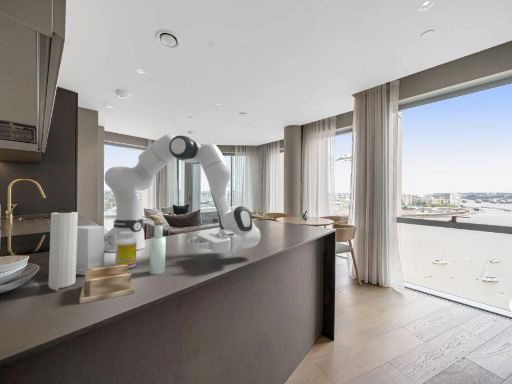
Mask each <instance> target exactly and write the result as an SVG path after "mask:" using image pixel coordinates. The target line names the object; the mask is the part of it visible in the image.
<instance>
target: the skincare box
mask: <svg viewBox="0 0 512 384" xmlns="http://www.w3.org/2000/svg"><path fill="white" fill-rule="evenodd" d="M104 235H105V225H91V224H90V225H89V224H85V225H77V254H76V275H80V276H86V270H87V269H95V268H103V267H105V250H104Z"/></svg>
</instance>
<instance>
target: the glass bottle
mask: <svg viewBox="0 0 512 384" xmlns="http://www.w3.org/2000/svg"><path fill="white" fill-rule="evenodd" d="M153 224H154V231H153V233H154V235H153V237H150V239H149V241H150V242H149V269H148V270H149V273H148V274H150V275H154V276H155V275H161V274H164V273H165V272H166V270H165V269H166V247H167V243H166V242H167V237H166V236H163V231H164V230H163V227H164V226H163V225H164V220H163V219H162V220H154V221H153Z"/></svg>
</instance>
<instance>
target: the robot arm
mask: <svg viewBox="0 0 512 384" xmlns="http://www.w3.org/2000/svg"><path fill="white" fill-rule="evenodd" d="M174 159H177V160H178V161H182V162H183V163H187V164H193V165H199V164H200V166H201V167H202V170H203V172H204V175H205V178H206V179H207V183H208V185H209V190H210V194H211V198H212V201H213V204H214V206H215V209H216V212H217V216H218V224H219V229H220V230H219V232H218V233H213V232H211V233H210V232H209V233H207V232H205V233H197V234H196V236H194V237H192V238H188V240H187V243H188V244H189V245H190V244H192V245H193V244H196V246H195V247H196V249H198V250H200V249H203V250H205V249H206V250H210V251H212V252H215V253H231V254H233V253H236V250H237V249H240V250H243V249H244V250H245V249H249V248H253V247H256V246H257V245H258V244H259V243H260V241H261V232H260V229H259V227H257V226H256V224H255V222H254V220H253V215H252V213H251V211H250V210H249V209H248V208H247V207H245V206H242V205H241V206H236V207H235V208H234V209H231V208H230V204H229V202H228V199H227V195H226V189H227V188H228V187H227V186H228V185H229V184H228V183H229V182H230V179H231V176H232V175H231V169H230V167H229V164H228V163H227V160H226V159H225V156H224V155H223V153H222V151H221V150H220V148H219V147H218V146H217V144H216V143H215V144H214V143H212V142H207V143H205V144H201V143H200V142H198V141H197V140H196V139H193V138H191V137H188V136H187V135H176V136H175V135H173V134H165V135H163V136H161V137H159V138H158V139H157V140H155V141H154V142H153V143H152V144H151V145H149V146H148V147H147V148H146V149H145V150H144V151H142V152H141V153H140V154H139V156H138V163H136V165H135V166H133V167H128V166H122V165H121V166H112V167H110V168H108V169H107V170H106V172H105V173H104V182H105V184H106V186H107V187H109V188H110V190H111V192H112V193H113V196H114V198H115V204H116V207H115V208H116V210H115V212H116V215H115V217H116V218H115V220H113V221H112V223H113V227H112V228H111V229H110V230H108V232H106V233H104V252H107V253H116V241H117V240H118V239H120V236H119V233H120V232H123V231H133V232H134V236H133V238H135V239H136V241H137V243H136V251H138V250H143V249H145V247H146V245H147V243H146V241H145V230H144V228H143V226H144V219H143V208H144V207H143V202H142V201H141V200H140V198H139V196H138V193H137V192H139V191H144V190H148V189H149V188H151V187H152V185H153V183H154V178H155V177H156V175H157V174H158V173H159V172H160V171H161V170H162V169H163V168H164V167H165V166H167V165H168V164H169V163H170V162H171V161H172V160H174Z"/></svg>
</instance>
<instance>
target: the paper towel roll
mask: <svg viewBox="0 0 512 384" xmlns="http://www.w3.org/2000/svg"><path fill="white" fill-rule="evenodd" d="M78 220H79V212H76V211H58V212H51V214H50V232H49V233H50V236H49V263H48V288H49V289H51V290H54V291H55V290H56V291H59V289H62V288H67V287H71V286H72V285H74V284H75V283H76V282H77V280H76V277H77V276H76V275H77V274H76V254H77V227H78V226H79V225H78Z"/></svg>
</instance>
